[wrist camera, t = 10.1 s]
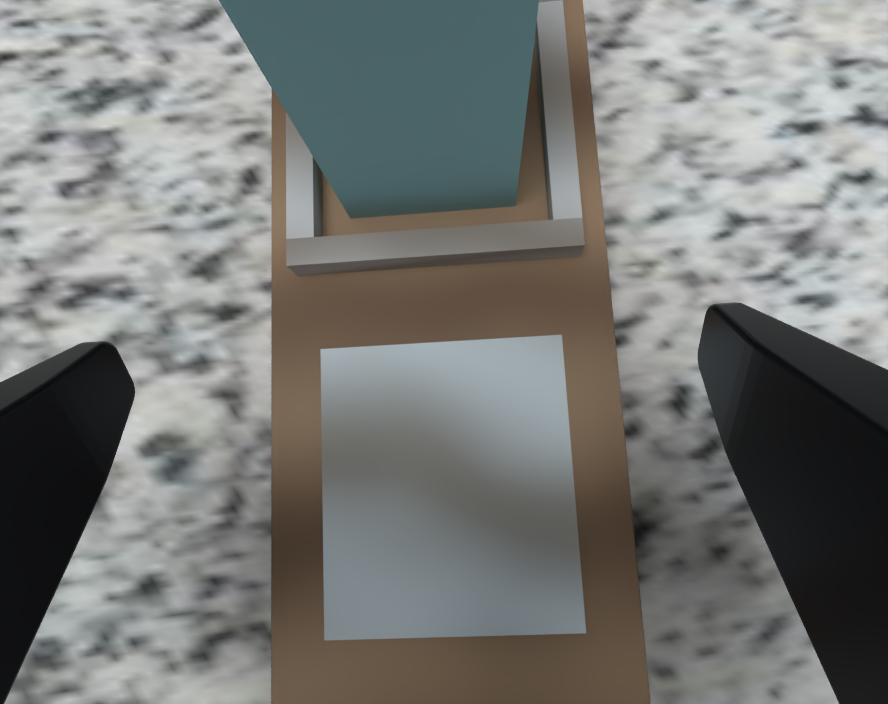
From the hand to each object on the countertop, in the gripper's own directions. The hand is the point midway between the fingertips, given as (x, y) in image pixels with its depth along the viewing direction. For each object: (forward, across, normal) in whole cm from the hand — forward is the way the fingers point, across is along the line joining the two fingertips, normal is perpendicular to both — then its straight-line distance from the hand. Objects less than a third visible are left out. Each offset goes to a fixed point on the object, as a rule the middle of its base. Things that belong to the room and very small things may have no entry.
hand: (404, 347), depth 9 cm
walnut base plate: (+9, 0, +6) cm, 11 cm away
